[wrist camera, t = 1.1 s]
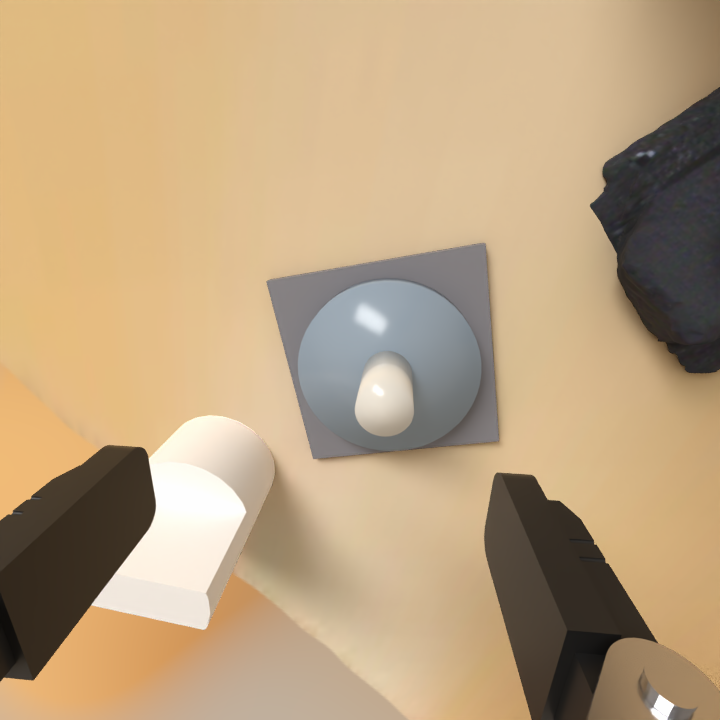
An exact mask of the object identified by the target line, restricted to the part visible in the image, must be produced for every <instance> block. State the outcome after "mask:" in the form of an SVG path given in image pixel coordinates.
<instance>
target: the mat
mask: <svg viewBox="0 0 720 720" xmlns="http://www.w3.org/2000/svg"><path fill="white" fill-rule="evenodd" d="M381 278H399V279H405V280H411V281H414V282H418V283H421V284H424V285H426V286H428V287H430V288H432V289H434V290H436V291H437V292H439V293H441V294H442V295H444V296H445V297H446V298H447V299H449V300H450V301H451V302H452V303H453V304H454V305H455V306H456V307H457V308H458V309H459V310H460V312H461V313H462V314H463V316H464V317H465V319H466V320H467V322H468V324H469V326H470V328H471V330H472V332H473V334H474V336H475V338H476V341H477V344H478V347H479V350H480V356H481V380H480V386H479V389H478V393H477V396H476V398H475V400H474V402H473V405H472V406H471V408H470V410H469V411H468V413H467V414H466V416H465V417H464V418H463V419H462V420H461V421H460V423H459V424H458V425H456V426H455V427H454V428H453V429H452V430H451V431H450V432H448V433H447V434H445V435H444V436H443V437H441V438H439V439H437V440H435V441H433V442H431V443H429V444H426V445H424V446H421V447H417V448H413V449H422V448H433V447H443V446H454V445H464V444H474V443H485V442H495V441H499V434H498V419H497V405H496V390H495V376H494V361H493V347H492V332H491V318H490V303H489V289H488V274H487V260H486V246H485V243H479V244H474V245H468V246H462V247H456V248H450V249H445V250H439V251H433V252H427V253H421V254H416V255H410V256H404V257H398V258H392V259H387V260H381V261H375V262H369V263H363V264H358V265H352V266H346V267H340V268H335V269H329V270H323V271H317V272H311V273H306V274H300V275H294V276H288V277H282V278H277V279H271V280H268V281H266V282H267V285H268V289H269V293H270V297H271V301H272V304H273V308H274V312H275V316H276V320H277V323H278V327H279V331H280V335H281V338H282V342H283V346H284V350H285V354H286V357H287V361H288V365H289V369H290V373H291V376H292V380H293V384H294V388H295V391H296V395H297V399H298V403H299V407H300V410H301V414H302V418H303V422H304V425H305V429H306V433H307V437H308V441H309V444H310V448H311V452H312V456H313V459H318V458H329V457H339V456H350V455H360V454H370V453H381V452H391V451H382V450H374V449H369V448H365V447H362V446H359V445H356V444H353V443H351V442H349V441H347V440H345V439H343V438H341V437H340V436H338V435H336V434H335V433H334V432H332V431H331V430H330V429H328V428H327V427H326V426H325V425H324V424H323V423H322V422H321V421H320V420H319V419H318V418H317V416H316V415H315V414H314V413H313V411H312V410H311V408H310V407H309V405H308V403H307V401H306V399H305V397H304V395H303V392H302V389H301V386H300V381H299V375H298V356H299V350H300V346H301V342H302V339H303V337H304V334H305V332H306V330H307V328H308V326H309V325H310V323H311V321H312V320H313V319H314V317H315V316H316V315H317V313H318V312H319V311H320V310H321V308H322V307H323V306H324V305H325V304H326V303H327V302H328V301H329V300H330V299H331V298H333V297H334V296H335V295H337V294H338V293H339V292H341V291H343V290H345V289H346V288H348V287H350V286H353V285H355V284H358V283H360V282H364V281H368V280H372V279H381ZM408 450H412V449H408ZM401 451H402V450H401Z"/></svg>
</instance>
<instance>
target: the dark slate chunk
mask: <svg viewBox="0 0 720 720" xmlns="http://www.w3.org/2000/svg"><path fill="white" fill-rule="evenodd" d="M603 177H604V178H605V179H607V185H606V186H605V187H604V192H603V193H602V194H601V195H600V196H599V197H598V198H597V199H596V200H595V201H594V202H593V203H591V204H590V207H591V209H592V210H593V212H594V213H595V214H596V216H597V217H598V219H599V220H600V222H601V224H602V226H603V228H604V231H605V232H606V234H607V236H608V238H609V240H610V241H611V243H612V245H613V247H614V249H615V251H616V253H617V262H618V268H617V274H618V278H619V280H620V282H621V284H622V286H623V288H624V290H625V293H626V295H627V297H628V298H629V299H630V301H631V302H632V304H633V306H634V307H635V309H636V311H637V312H638V314H639V316H640V318H641V320H642V322H643V323H644V325H645V326H646V328H647V329H648V330H649V331H650V332H651V333H653V334H654V335H656V336H657V337H658V341H663V342H666V343H667V346H668V349H669V352H670V353H675V354H676V355H677V356H678V359H679V362H680V364H682V365H684V366H685V370H686V371H687V372H689V373H712V372H716V371H717V370H719V369H720V87H719V88H718V89H716V90H715V91H713V92H712V93H711V94H710V95H708V96H707V97H705V98H703V99H701V100H700V101H698V102H696V103H695V104H693V105H692V106H691V107H689V108H688V109H686V110H685V111H684V112H682V113H681V114H680V115H678V116H677V117H675V118H674V119H672V120H670V121H668V122H667V123H665V124H663V125H662V126H660V127H659V128H658V129H657V130H656V131H654V132H652V133H650V134H648V135H646V136H645V137H643V138H641V139H639V140H637V141H636V142H634V143H633V144H631V145H630V146H629V147H628V148H627V149H626V150H624V151H623V152H621V153H620V154H618V155H616V156H614V157H613V158H611V159H610V160H608V161H607V162H606V163H605V165H604V167H603Z"/></svg>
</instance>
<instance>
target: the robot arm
mask: <svg viewBox="0 0 720 720" xmlns="http://www.w3.org/2000/svg"><path fill="white" fill-rule="evenodd" d="M155 511H156V498H155V493H154V487H153V481H152V476H151V470H150V464H149V459H148V454H147V452H146V451H145V449H144V448H141V447H129V446H114V445H108V446H105V447H103V448H102V449H100V450H99V451H98V452H97V453H96V454H94V455H93V456H92V457H91V458H89V459H88V460H87V461H86V462H85V463H84V464H82V465H81V466H78V467H76V468H74V469H72V470H70V471H68V472H66V473H64V474H62V475H60V476H58V477H56V478H54V479H53V480H51V481H50V482H49V483H47V484H46V485H45V486H44V487H42V488H41V489H40V490H39V491H37V492H36V493H35V494H33V495H32V497H31V499H30V500H26V501H25V502H23V503H22V504H21V505H20V506H18V507H17V508H16V509H15V510H13V513H12V515H7V516H6V517H4V518H3V519H2V520H1V521H0V681H1V680H2V679H3V678H4V677H5V678H15V679H24V680H34V679H35V678H36V676H37V675H38V674H39V672H40V671H41V670H42V669H43V667H44V666H45V665H46V663H47V662H48V661H49V660H50V658H51V657H52V656H53V654H54V653H55V651H56V650H57V649H58V648H59V646H60V645H61V644H62V642H63V641H64V640H65V638H66V637H67V636H68V635H69V633H70V632H71V631H72V629H73V628H74V627H75V625H76V624H77V623H78V622H79V620H80V619H81V618H82V616H83V615H84V614H85V612H86V611H87V609H88V608H89V607H90V606H91V605H92V603H93V602H94V601H95V599H96V598H97V597H98V595H99V594H100V593H101V591H102V590H103V589H104V587H105V586H106V585H107V584H108V582H109V581H110V580H111V578H112V577H113V576H114V574H115V573H116V572H117V570H118V569H119V568H120V566H121V565H122V564H123V563H124V561H125V560H126V559H127V557H128V556H129V555H130V553H131V552H132V551H133V549H134V548H135V547H136V546H137V544H138V543H139V542H140V540H141V539H142V538H143V536H144V535H145V534H146V532H147V531H148V530H149V528H150V526H151V524H152V522H153V519H154V516H155ZM484 541H485V552H486V557H487V561H488V565H489V568H490V572H491V576H492V579H493V583H494V586H495V590H496V593H497V597H498V601H499V604H500V608H501V611H502V615H503V618H504V622H505V625H506V629H507V633H508V636H509V640H510V643H511V647H512V650H513V654H514V658H515V661H516V665H517V668H518V672H519V675H520V679H521V683H522V686H523V690H524V693H525V697H526V700H527V704H528V707H529V711H530V715H531V718H532V720H720V691H719V690H718V688H717V687H716V686H715V685H714V683H713V682H712V681H711V680H710V679H709V678H708V677H707V676H706V675H705V674H704V673H703V672H702V671H700V670H699V669H698V668H697V667H696V666H695V665H693V664H692V663H691V662H689V661H688V660H687V659H685V658H684V657H683V656H681V655H679V654H678V653H676V652H675V651H673V650H671V649H669V648H667V647H665V646H663V645H661V644H658V642H657V641H656V639H655V638H654V636H653V635H652V633H651V631H650V630H649V628H648V627H647V625H646V623H645V622H644V620H643V619H642V617H641V615H640V614H639V612H638V610H637V609H636V607H635V606H634V604H633V602H632V601H631V599H630V598H629V596H628V594H627V593H626V591H625V590H624V588H623V586H622V585H621V583H620V582H619V580H618V578H617V577H616V575H615V574H614V572H613V570H612V569H611V567H610V566H609V564H607V563H606V562H605V558H604V556H603V554H602V553H601V551H600V550H599V548H598V546H597V545H594V540H593V538H592V537H591V535H590V533H589V532H588V530H587V529H586V527H585V525H584V524H583V522H582V521H581V519H580V518H579V517H577V516H576V515H575V514H574V513H573V512H572V511H571V510H569V509H568V508H567V507H566V506H565V505H564V504H563V503H561V502H560V501H554V500H547V498H546V496H545V494H544V493H543V491H542V489H541V487H540V485H539V484H538V482H537V480H536V478H535V477H534V476H533V475H525V474H510V473H496V474H495V476H494V480H493V485H492V490H491V496H490V502H489V507H488V513H487V519H486V524H485V533H484Z"/></svg>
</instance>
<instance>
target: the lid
mask: <svg viewBox="0 0 720 720" xmlns="http://www.w3.org/2000/svg"><path fill="white" fill-rule="evenodd" d="M298 375H299V381H300V386H301V389H302V392H303V395H304V397H305V399H306V401H307V403H308V405H309V407H310V408H311V410H312V411H313V413H314V414H315V415H316V416H317V418H318V419H319V420H320V421H321V422H322V423H323V424H324V425H325V426H326V427H327V428H328V429H330V430H331V431H332V432H334V433H335V434H336V435H338V436H340V437H341V438H343V439H345V440H347V441H349V442H351V443H353V444H356V445H359V446H362V447H365V448H369V449H374V450H382V451H401V450H408V449H413V448H417V447H421V446H424V445H426V444H429V443H431V442H433V441H435V440H437V439H439V438H441V437H443V436H444V435H445V434H447V433H448V432H450V431H451V430H452V429H453V428H454V427H455V426H456V425H458V424H459V423H460V421H461V420H462V419H463V418H464V417H465V416H466V414H467V413H468V411H469V410H470V408H471V406H472V405H473V402H474V400H475V398H476V396H477V393H478V389H479V386H480V380H481V356H480V350H479V347H478V344H477V341H476V338H475V336H474V334H473V332H472V330H471V328H470V326H469V324H468V322H467V320H466V319H465V317H464V316H463V314H462V313H461V312H460V310H459V309H458V308H457V307H456V306H455V305H454V304H453V303H452V302H451V301H450V300H449V299H447V298H446V297H445V296H444V295H442V294H441V293H439V292H437V291H436V290H434V289H432V288H430V287H428V286H426V285H424V284H421V283H418V282H414V281H411V280H405V279H399V278H381V279H372V280H368V281H364V282H360V283H358V284H355V285H353V286H350V287H348V288H346V289H345V290H343V291H341V292H339V293H338V294H337V295H335V296H334V297H333V298H331V299H330V300H329V301H328V302H327V303H326V304H325V305H324V306H323V307H322V308H321V310H320V311H319V312H318V313H317V315H316V316H315V317H314V319H313V320H312V321H311V323H310V325H309V326H308V328H307V330H306V332H305V334H304V337H303V339H302V342H301V346H300V350H299V356H298Z"/></svg>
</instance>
